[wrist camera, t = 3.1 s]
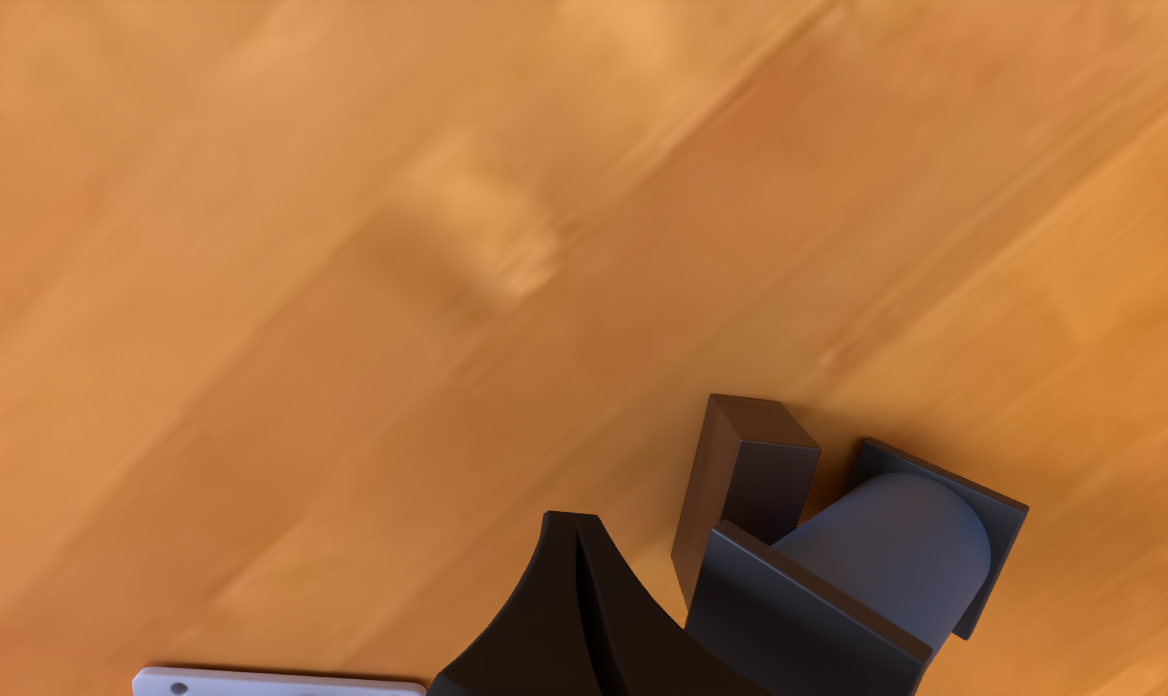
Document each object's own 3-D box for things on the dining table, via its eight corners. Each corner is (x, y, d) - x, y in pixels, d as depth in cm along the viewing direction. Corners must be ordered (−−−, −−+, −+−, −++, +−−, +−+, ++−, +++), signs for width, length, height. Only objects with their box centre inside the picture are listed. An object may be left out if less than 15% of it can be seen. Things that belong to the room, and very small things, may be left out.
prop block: (670, 556, 20) (690, 623, 17) (710, 392, 18) (740, 439, 15) (733, 561, 20) (764, 629, 18) (780, 401, 19) (822, 448, 16)
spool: (634, 532, 20) (705, 834, 11) (661, 411, 18) (765, 650, 10) (906, 558, 21) (1160, 852, 12) (951, 446, 19) (1272, 688, 11)
